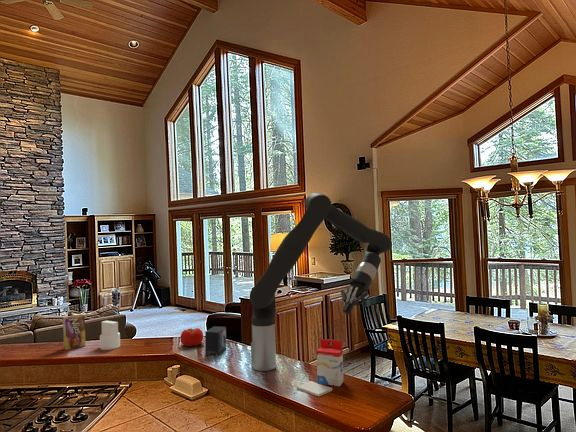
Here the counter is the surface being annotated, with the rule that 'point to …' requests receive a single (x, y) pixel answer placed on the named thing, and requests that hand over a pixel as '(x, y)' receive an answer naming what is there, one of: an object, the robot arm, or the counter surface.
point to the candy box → (74, 331)
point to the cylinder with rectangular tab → (109, 335)
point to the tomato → (191, 337)
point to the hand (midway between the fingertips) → (345, 313)
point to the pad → (314, 388)
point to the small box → (215, 341)
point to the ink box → (330, 363)
